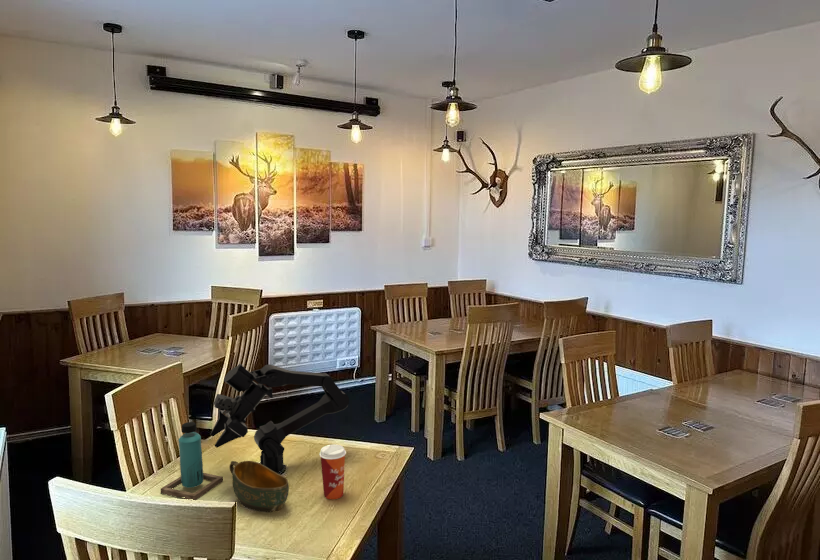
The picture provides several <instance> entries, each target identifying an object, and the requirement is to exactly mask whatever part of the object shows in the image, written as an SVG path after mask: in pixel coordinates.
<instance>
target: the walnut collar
mask: <svg viewBox="0 0 820 560" xmlns="http://www.w3.org/2000/svg"><path fill="white" fill-rule="evenodd" d="M203 476H204V477H203V481H209V483H207V484H205V485H204V486H203V487H202V488H200V489H198V490H197V491H195V492H188V491H185V490H179V489H175V488H176V487H178V486H180V485H182V483H181V477H180V476H178V478H175V479H174V480H172V481H170V482H169V483H168V484H166V485H164V486H163V487H161V488H160V494H161V493H163V494H162V495H165V494H167V495H166V496H170V495H172V496H171V497H174V496H176V497H175V498H178V497H185V498H184V500H187V499H193V500H195V501H197V500H198V499H200V498H201V497H203V496H205V494H207V493H208V492H210V491H211V490H213V489H214V488H216V487H218V486H219V485H221V483H224V476H221V475H217V474H216V475H215V474H210V473H206V472H204V473H203ZM179 484H180V485H179ZM177 485H178V486H177ZM174 487H175V488H174ZM172 488H173V489H172Z"/></svg>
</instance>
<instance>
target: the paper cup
mask: <svg viewBox="0 0 820 560" xmlns="http://www.w3.org/2000/svg"><path fill="white" fill-rule="evenodd" d="M346 454H347V451H346V449H345V447H344V446H343V445H341V444H328V445H324V446H322V448H321V449H320V452H319V458H320V465H321V467H320V468H321V478H322V479H321V480H322V486H323V487H322V488H323V496H324V498H326V499H327V500H332V501H333V500H338V499H340V498H342V497H343V496H344V492H345V491H344V489H345V488H344V486H345V464H346V463H345V461H346V460H345V459H346V457H345V456H346Z"/></svg>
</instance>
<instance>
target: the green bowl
mask: <svg viewBox="0 0 820 560" xmlns="http://www.w3.org/2000/svg"><path fill="white" fill-rule="evenodd" d="M229 471H230V474H231V478H232V481H231V482H232V483H231V484H232V490H233V492H234V496H235V497H236V499H237V500H238V502H239V504H240V505H241V506H242V507H244V508H245V509H249V510H252V511H255V512H259V513H277V512H278V511H280V510H282V508H283V506H284V505H285V503H286V502H287V500H288V496H289V493H290V492H289V489H290V486H289V480H288V478H286V477H285V476H284V475H282V474H280V473H276V472H274V471H272V470H271V469H269V468H267V467H266V466H264V465H262V464H261V463H260V462H258V461H253V460H244V461H240V462H239V461H235V460H234V461H233V460H232V461H230V464H229Z"/></svg>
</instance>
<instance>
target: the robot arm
mask: <svg viewBox="0 0 820 560" xmlns="http://www.w3.org/2000/svg"><path fill="white" fill-rule="evenodd" d="M223 382H225V384H228V385H229V386H230V388H233V389H234V390H235V391H237V392H238V393H241V392H242V393H241V395H236V396H235V397H234V398H233V397H230V396H227V395H224V394H220V393H217V394H216V396H215V398H214V401H213V404H212V405H214V408H216V409H218V410H217V412H218V417H217V420H216V421H215V425H214V426H213V428H212V430H211V431H210V436H212V437H215V436H216V435H218V434H220V433H221V432H222V431H223V432H222V433H221V434H220V436H219V437H218V439H217V441H216V442H215V444H214V447H215V448H220V447H221V446H223V445H225V444H228V443H230V442H232V441H234V440H235V441H236V440H237V439H241V438H244V437H245V436H246V435H248V433H249V430H248V426H247V424H246V422H247V420H246V419H247V417H248V416H249V415H250V414H251V413H252V414H254V413H255V412H256V407H257V406H258V405H259V404H260V402H262V400H263V399H264V398H265V397H266V395H267V396H268V397H269V398H271V399H273V397H274V396H273V390H274V389H273V388H276V387H284V386H287V385H295V386H296V385H298V386H311V387H321V388H322V390H323V391H324V393H325V394H323V395H322V397H321V398H320V399H319V400H318V401H317V402H316V403H314V404H312V405H311V406H308V407H307V408H305V409H303V410H301V411H299V412H298V413H296V414H294V415H293V416H292V415H291V416H290V417H289V418H287V419H285V420H283V421H281V422H279V423H274V422H273V421H272V420H269V421H268V422H267V423H266V424H264V425H260V426H259V428H258V429H256V431H255V433H254V436H253V441H254V442H255V444H256V445H257V447H258V448H259V450H260V456H259V459H260V460H259V461H260V462H259V463H260V464H262V465H264V466H266V467H267V468H269V469H271V470H272V471H274V472H276V473H278V474H280V472H282V471H283V470H284V469H286V468H287V465H286V464H284V452H285V447H284V445H282V442H283V441H284V440H285V439H286V437H288V436H289V435H292V434H293V433H294V432H297V431H298V430H300V429H301V428H303V427H304V428H305V427H306V426H307V425H309V424H311V423H313V422H315V421H316V420H317V419H320V418H322V417H324V416H325V415H328V414H335V413H339V412H341V411H344V410H346V409H347V408H348V407H349V404H350V397H349V396H348V394H347V393H345V392H344V391H343V390H341V388H339V386H338V385H337V384H336V382H335V381H334V379H333V378H332V377H331V376H330V375H329V374H327V373H326V372H322V373H320V372H312V371H311V372H310V371H298V370H297V371H296V370H290V369H285V368H282V367H280V366H277V365H273V364H265V365H264V366H263V367H261V368H260V369H256V370H252V371H249V370H248V369H246V368H245V366H243V365H242V364H241V363H238V365H237V366H234V367H233V368H232V369H230V370H229V371H228V372H227V373H226V374H225V377H224V379H223Z"/></svg>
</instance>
